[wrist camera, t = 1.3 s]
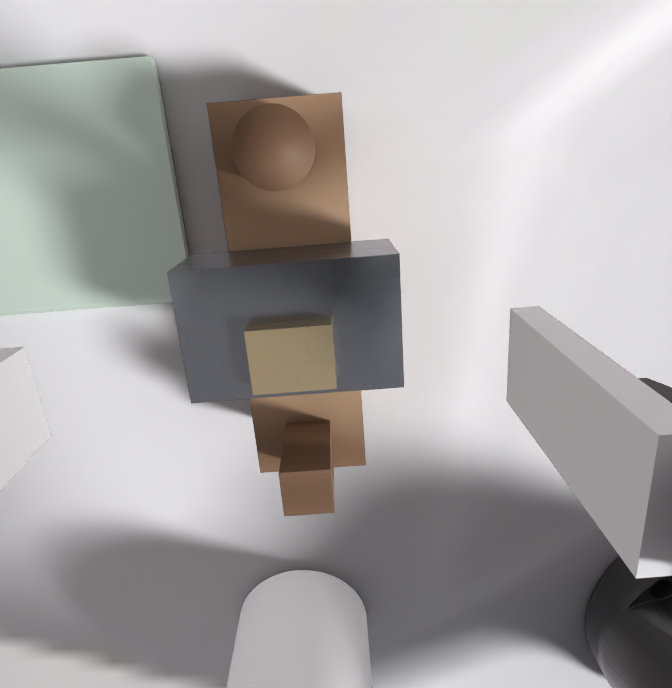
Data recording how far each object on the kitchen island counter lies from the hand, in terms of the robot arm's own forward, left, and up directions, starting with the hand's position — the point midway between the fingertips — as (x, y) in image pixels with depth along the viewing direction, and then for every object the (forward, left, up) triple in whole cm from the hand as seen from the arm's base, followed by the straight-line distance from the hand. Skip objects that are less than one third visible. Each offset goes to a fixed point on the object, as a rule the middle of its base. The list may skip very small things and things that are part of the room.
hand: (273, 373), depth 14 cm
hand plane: (0, 0, -13) cm, 13 cm away
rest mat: (+5, +11, -13) cm, 18 cm away
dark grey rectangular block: (0, 0, -8) cm, 8 cm away
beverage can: (-22, +2, -13) cm, 26 cm away
